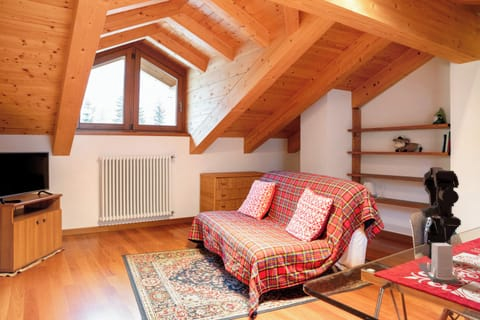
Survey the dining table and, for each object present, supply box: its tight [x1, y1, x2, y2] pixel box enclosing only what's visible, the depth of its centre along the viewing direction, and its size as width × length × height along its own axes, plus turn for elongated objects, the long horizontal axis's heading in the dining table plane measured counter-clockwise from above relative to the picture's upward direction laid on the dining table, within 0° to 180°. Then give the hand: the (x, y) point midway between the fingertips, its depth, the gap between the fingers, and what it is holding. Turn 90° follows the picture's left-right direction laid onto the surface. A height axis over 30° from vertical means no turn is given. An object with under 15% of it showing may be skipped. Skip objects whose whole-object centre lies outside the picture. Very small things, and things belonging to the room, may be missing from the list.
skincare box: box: [430, 243, 454, 277], centre depth 132 cm, size 6×4×12 cm
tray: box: [417, 261, 460, 285], centre depth 136 cm, size 18×9×5 cm, turn 168°
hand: (443, 237), depth 142 cm, fingers open, 9 cm apart
